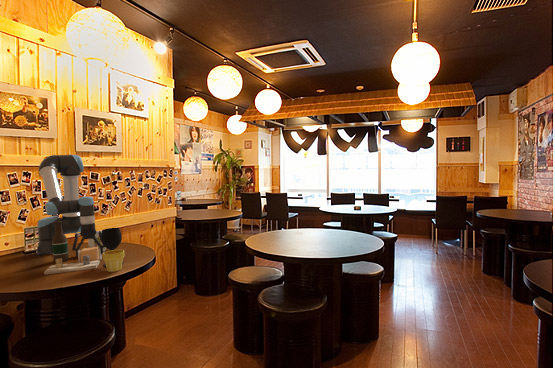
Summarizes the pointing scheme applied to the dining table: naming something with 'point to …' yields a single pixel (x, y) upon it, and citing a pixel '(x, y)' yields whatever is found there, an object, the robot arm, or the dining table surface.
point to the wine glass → (111, 238)
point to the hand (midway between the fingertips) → (90, 260)
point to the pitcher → (93, 243)
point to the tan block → (90, 253)
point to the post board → (72, 266)
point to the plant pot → (113, 260)
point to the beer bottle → (59, 243)
